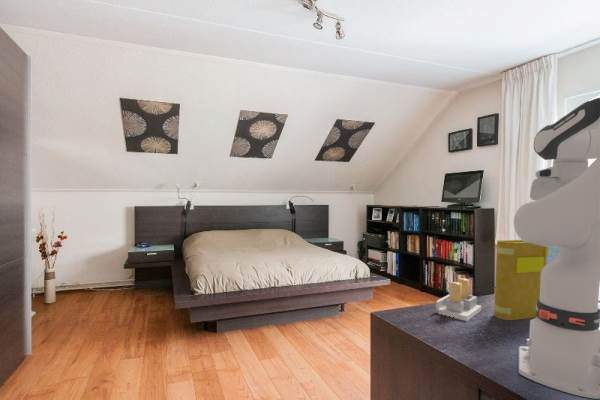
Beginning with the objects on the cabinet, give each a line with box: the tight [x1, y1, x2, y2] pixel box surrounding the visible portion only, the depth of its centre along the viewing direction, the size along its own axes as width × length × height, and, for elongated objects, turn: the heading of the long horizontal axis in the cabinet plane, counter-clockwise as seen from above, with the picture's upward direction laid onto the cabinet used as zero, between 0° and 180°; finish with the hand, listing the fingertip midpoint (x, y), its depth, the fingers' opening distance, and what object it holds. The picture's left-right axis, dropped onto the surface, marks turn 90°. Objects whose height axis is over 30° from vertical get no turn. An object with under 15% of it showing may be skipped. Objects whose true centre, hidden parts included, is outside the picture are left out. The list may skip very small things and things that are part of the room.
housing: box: [435, 281, 482, 322], centre depth 119 cm, size 15×10×10 cm, turn 137°
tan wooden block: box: [457, 277, 470, 300], centre depth 122 cm, size 4×4×9 cm
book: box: [493, 239, 549, 321], centre depth 117 cm, size 17×7×25 cm, turn 108°
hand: (567, 216), depth 110 cm, fingers open, 8 cm apart
